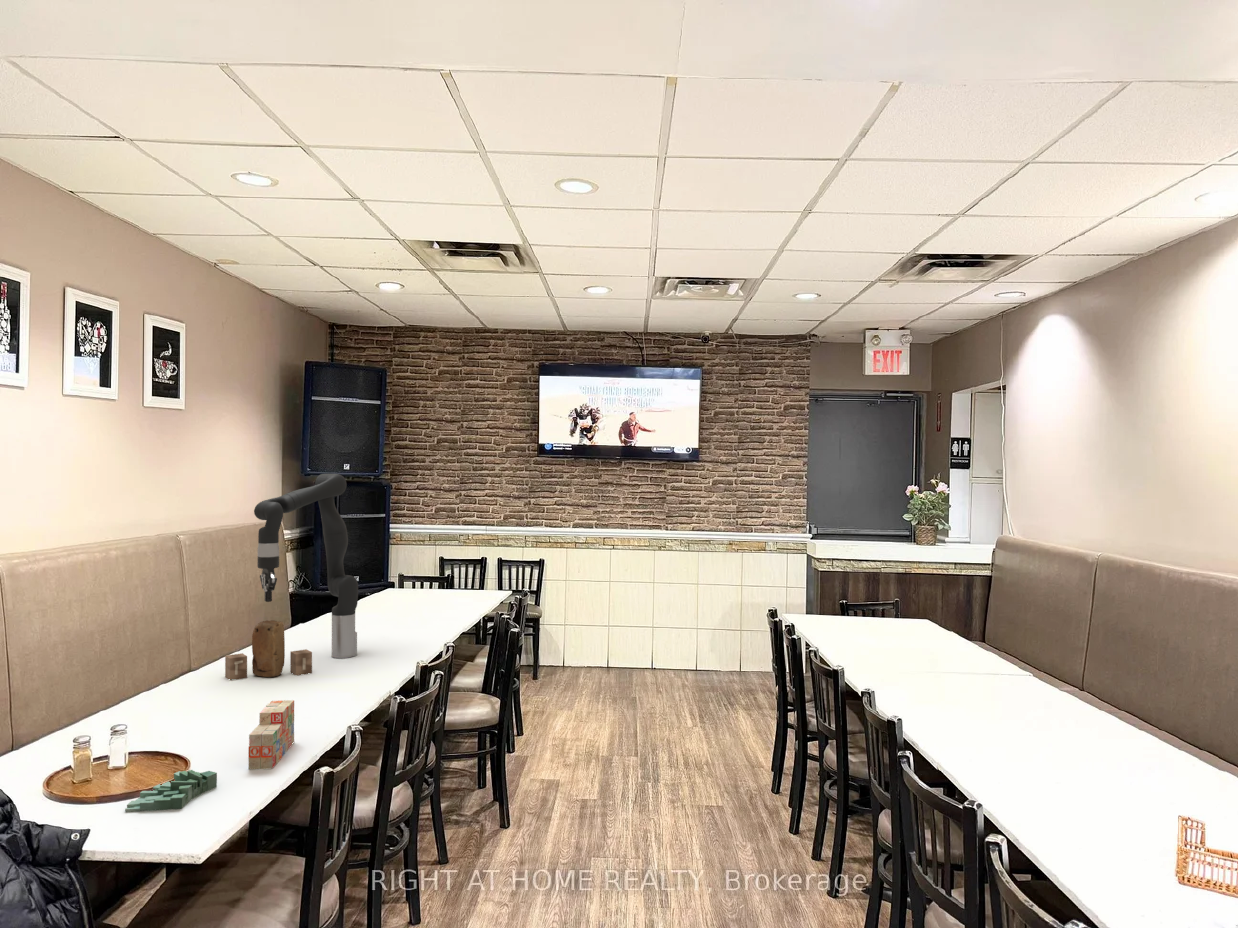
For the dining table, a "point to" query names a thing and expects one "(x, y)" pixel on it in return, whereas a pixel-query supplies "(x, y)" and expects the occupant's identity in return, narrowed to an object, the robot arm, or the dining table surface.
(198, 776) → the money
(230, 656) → the brown letter block
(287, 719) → the stack of blocks
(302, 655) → the walnut block one
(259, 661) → the block
